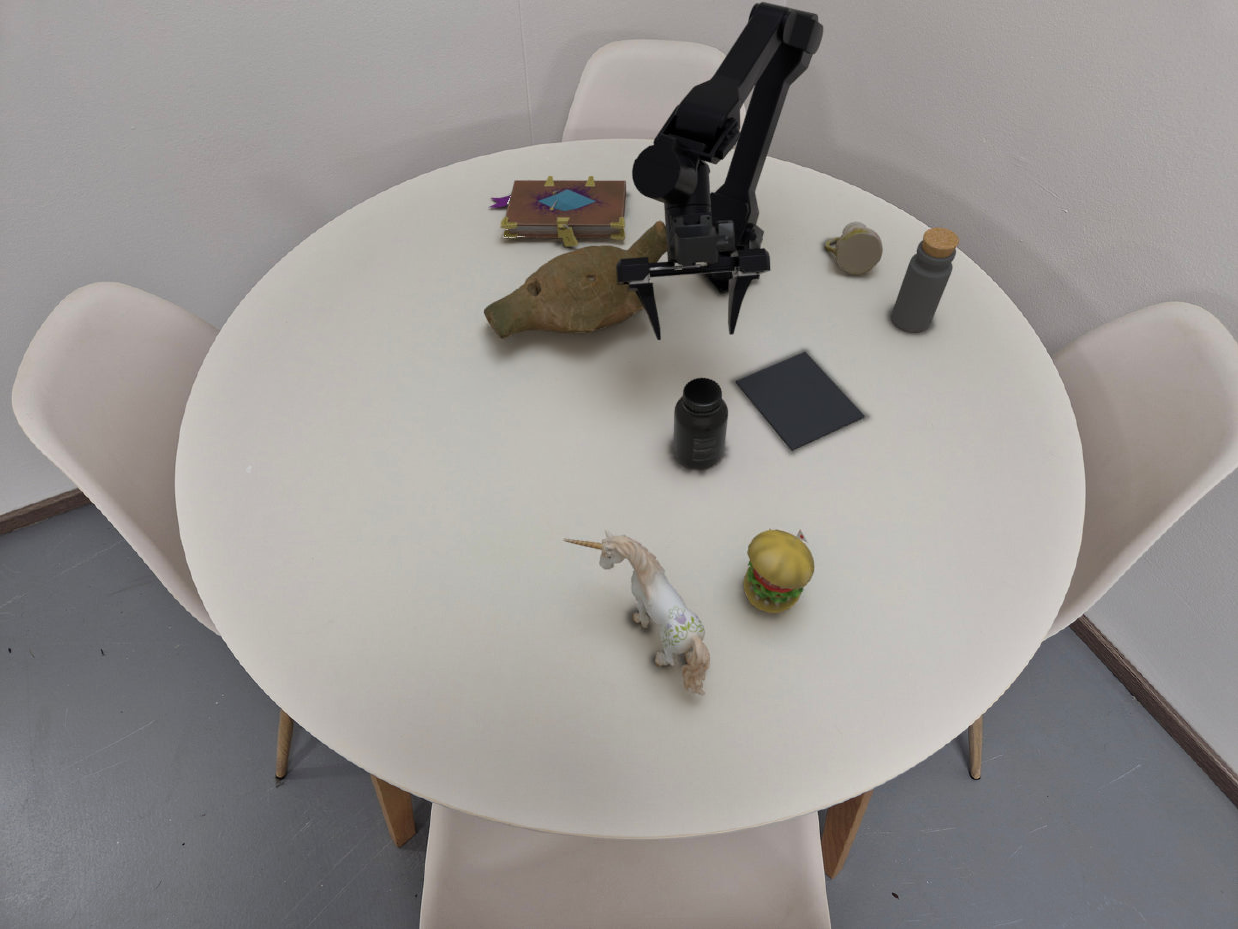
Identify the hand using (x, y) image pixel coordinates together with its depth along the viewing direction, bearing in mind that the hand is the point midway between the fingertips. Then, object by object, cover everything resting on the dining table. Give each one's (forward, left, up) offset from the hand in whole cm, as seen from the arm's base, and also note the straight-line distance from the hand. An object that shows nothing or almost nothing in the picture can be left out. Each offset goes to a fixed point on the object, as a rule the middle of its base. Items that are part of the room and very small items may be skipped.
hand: (695, 337), depth 97 cm
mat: (+6, +14, -13) cm, 20 cm away
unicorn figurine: (+27, -23, -14) cm, 38 cm away
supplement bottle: (+7, -3, -14) cm, 16 cm away
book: (-48, +1, -14) cm, 50 cm away
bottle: (+1, +38, -14) cm, 40 cm away
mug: (-15, +39, -14) cm, 44 cm away
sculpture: (-24, -5, -14) cm, 28 cm away
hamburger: (+29, -6, -14) cm, 33 cm away
